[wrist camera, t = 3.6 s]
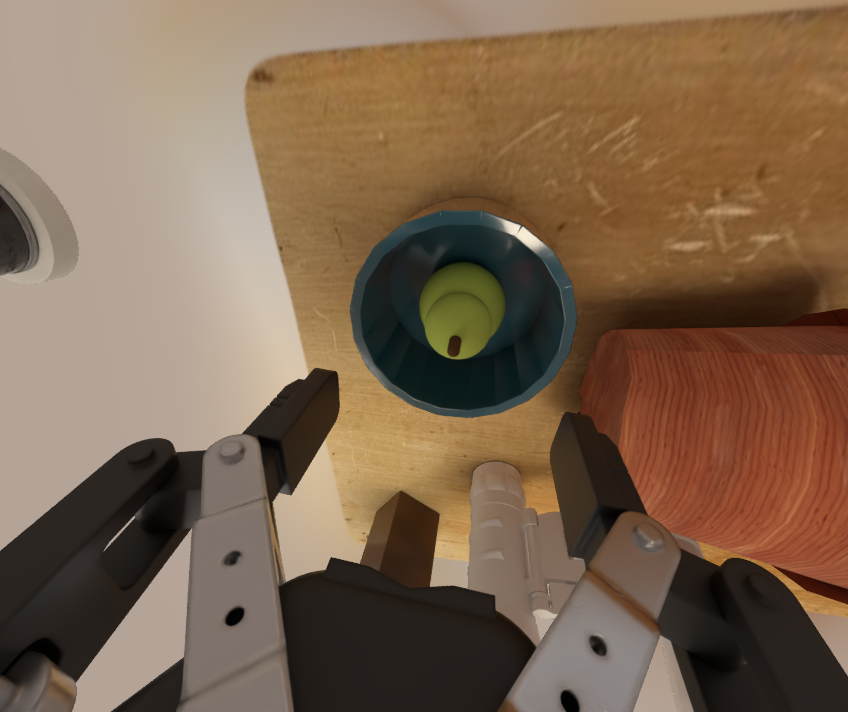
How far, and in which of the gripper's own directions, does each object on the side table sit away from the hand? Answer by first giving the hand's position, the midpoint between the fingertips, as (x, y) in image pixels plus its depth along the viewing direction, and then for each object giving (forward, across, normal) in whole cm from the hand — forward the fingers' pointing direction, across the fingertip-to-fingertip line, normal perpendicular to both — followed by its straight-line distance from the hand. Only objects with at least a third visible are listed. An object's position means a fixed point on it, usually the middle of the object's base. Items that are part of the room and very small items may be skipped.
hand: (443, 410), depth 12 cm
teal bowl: (+14, 0, 0) cm, 14 cm away
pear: (+13, 0, 0) cm, 13 cm away
